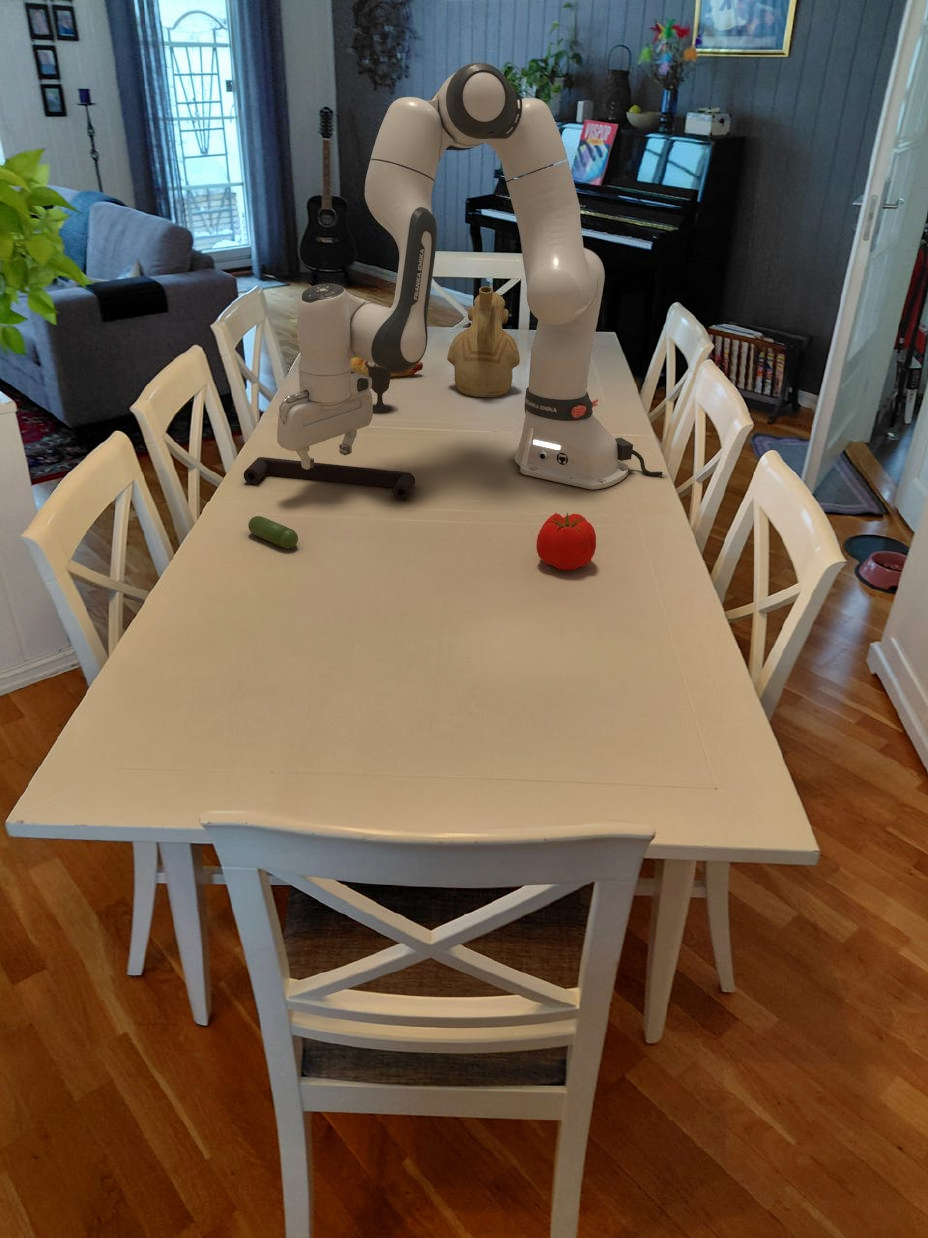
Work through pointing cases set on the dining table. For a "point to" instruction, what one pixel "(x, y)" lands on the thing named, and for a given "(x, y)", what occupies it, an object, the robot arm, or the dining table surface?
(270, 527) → the pickle
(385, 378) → the sundae
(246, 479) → the handle
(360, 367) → the croissant
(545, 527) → the tomato
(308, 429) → the robot arm
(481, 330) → the ceramic vessel
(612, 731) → the dining table surface
